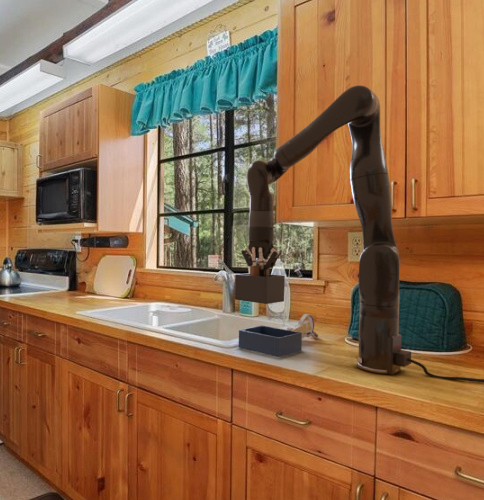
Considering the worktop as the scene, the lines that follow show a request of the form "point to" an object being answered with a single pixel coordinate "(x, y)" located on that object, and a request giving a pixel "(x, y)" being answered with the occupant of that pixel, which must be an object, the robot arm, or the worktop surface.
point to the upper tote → (259, 287)
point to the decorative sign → (305, 327)
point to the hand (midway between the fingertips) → (259, 281)
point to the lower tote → (270, 340)
